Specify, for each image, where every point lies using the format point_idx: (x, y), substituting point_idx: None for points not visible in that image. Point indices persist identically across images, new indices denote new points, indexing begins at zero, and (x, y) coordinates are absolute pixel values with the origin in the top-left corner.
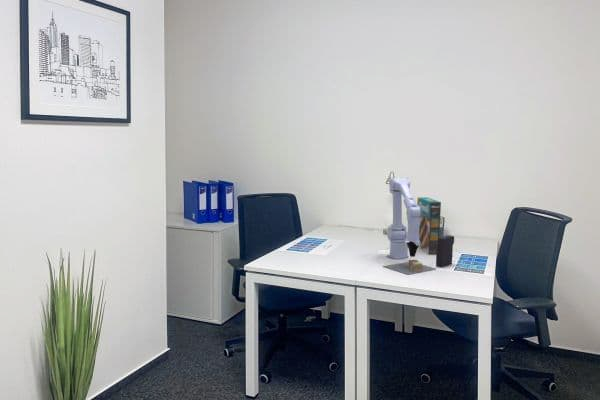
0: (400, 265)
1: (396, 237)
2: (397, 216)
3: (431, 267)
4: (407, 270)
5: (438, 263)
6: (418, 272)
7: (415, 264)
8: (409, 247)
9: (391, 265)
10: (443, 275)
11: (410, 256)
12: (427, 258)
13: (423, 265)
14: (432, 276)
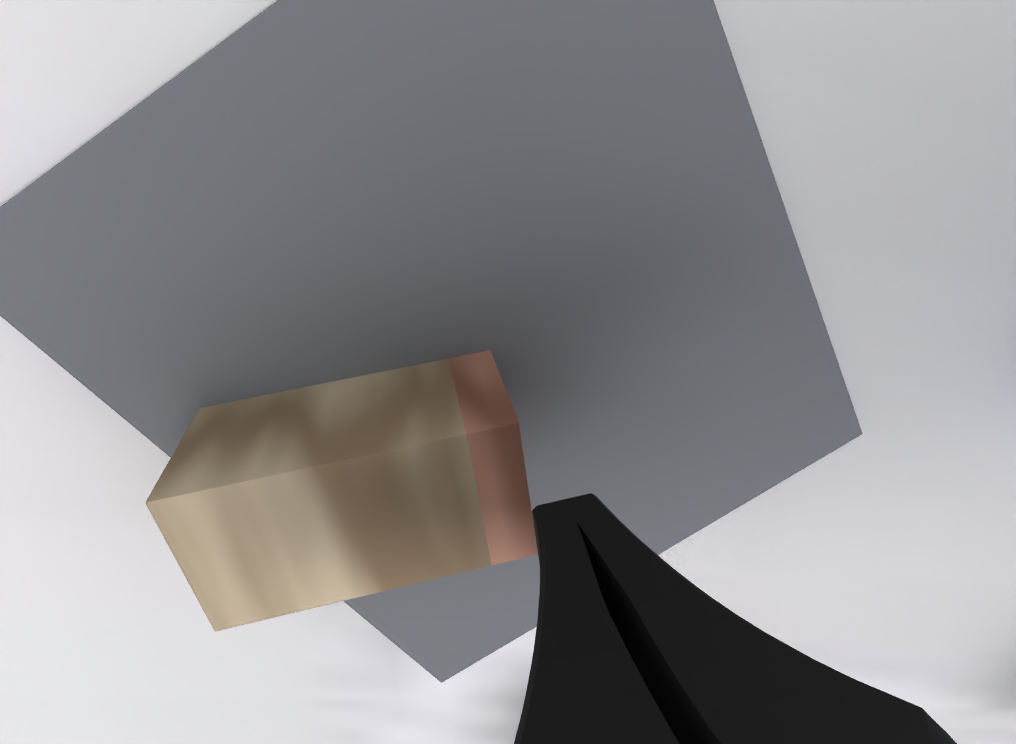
0: (646, 229)
1: None
2: None
3: (503, 637)
4: (274, 299)
5: None
6: None
7: (159, 506)
8: (611, 694)
9: (664, 29)
10: (125, 729)
11: (567, 498)
12: (937, 614)
13: None
14: (5, 620)
